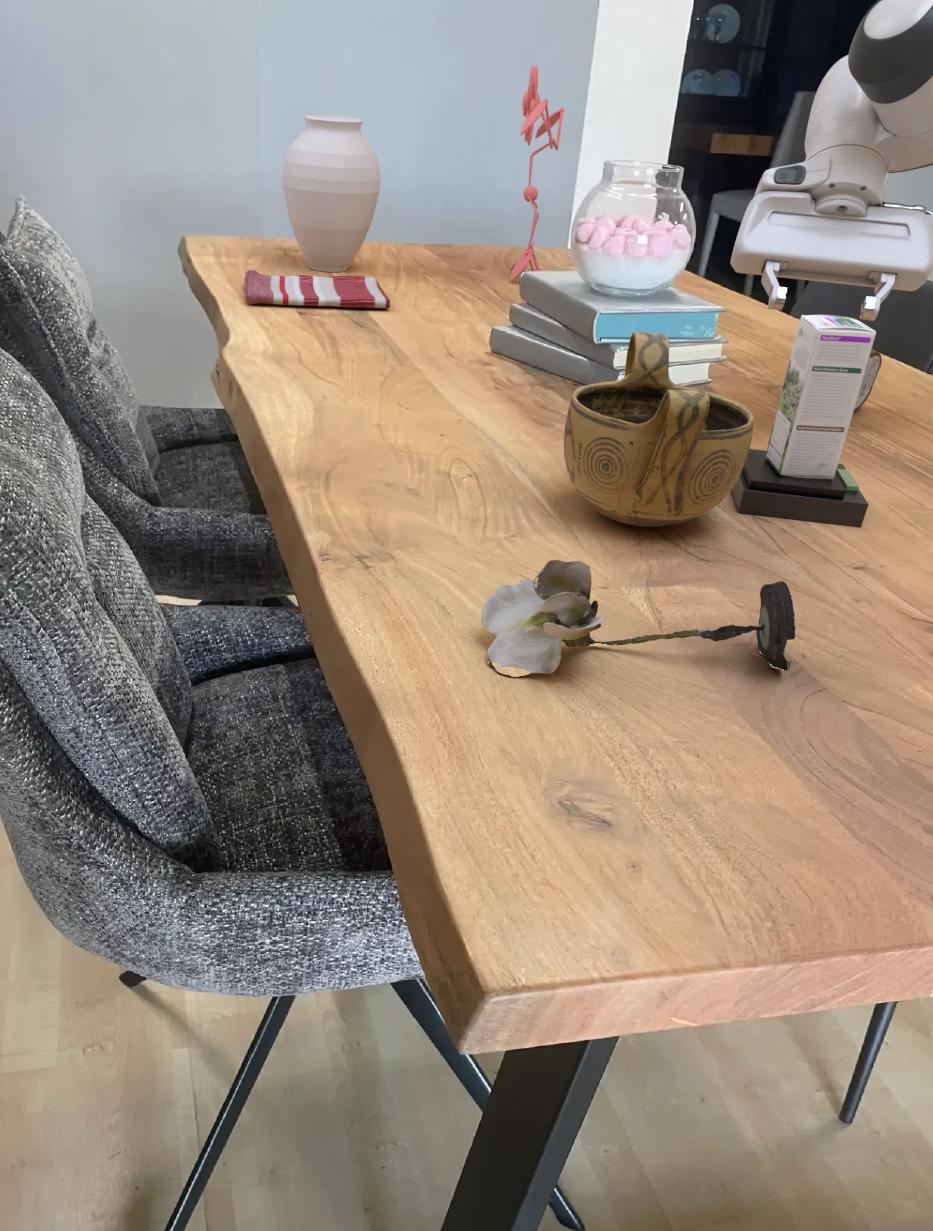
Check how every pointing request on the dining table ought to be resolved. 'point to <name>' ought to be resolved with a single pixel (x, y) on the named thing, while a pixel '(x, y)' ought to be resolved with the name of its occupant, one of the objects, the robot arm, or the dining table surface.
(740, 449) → the ceramic bowl
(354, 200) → the vase
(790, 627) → the artificial flower
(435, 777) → the dining table surface
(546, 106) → the figurine
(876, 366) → the tin
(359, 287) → the dish towel
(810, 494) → the scale
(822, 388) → the syrup box
